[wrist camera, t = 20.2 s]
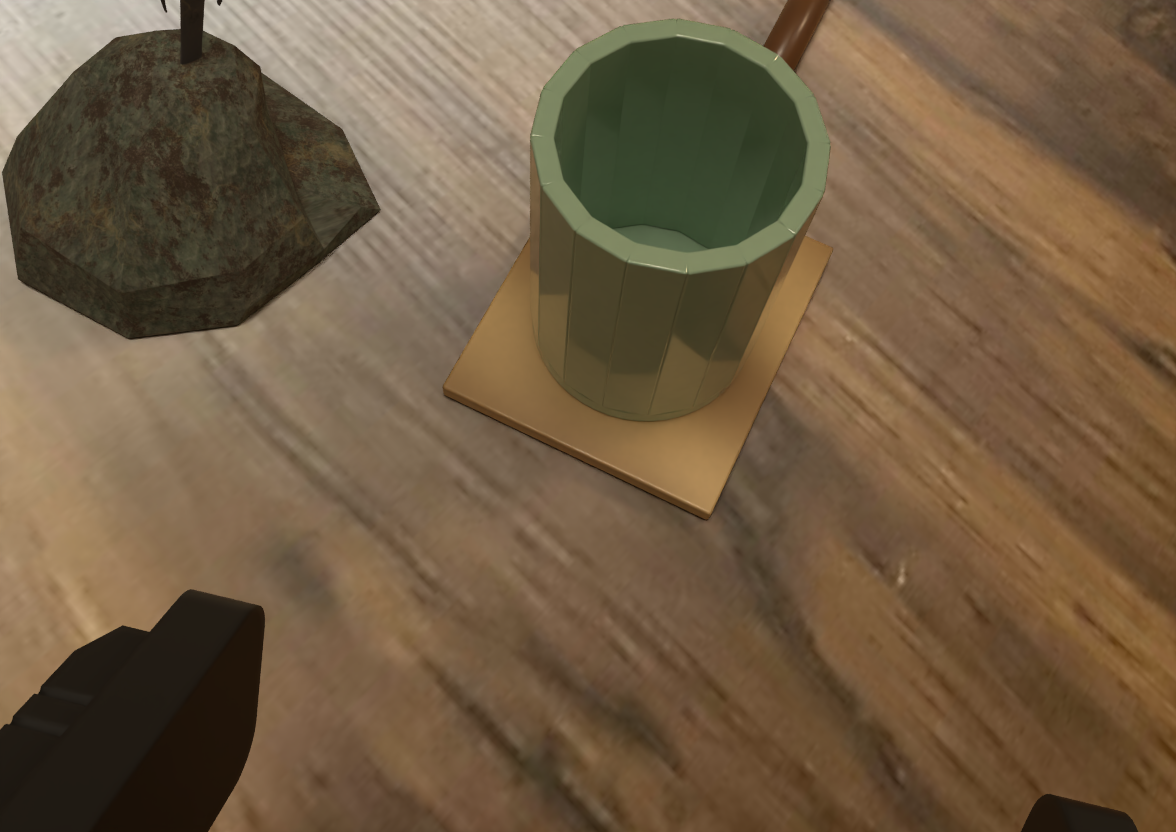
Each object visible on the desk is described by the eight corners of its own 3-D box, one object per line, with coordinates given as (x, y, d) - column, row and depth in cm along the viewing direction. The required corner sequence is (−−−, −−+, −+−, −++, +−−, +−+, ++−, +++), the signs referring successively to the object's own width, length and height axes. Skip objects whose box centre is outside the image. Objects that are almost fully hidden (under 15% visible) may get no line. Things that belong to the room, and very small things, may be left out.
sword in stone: (72, 401, 30) (-201, 139, 19) (-25, 178, 32) (-321, -174, 21) (409, 248, 32) (345, -70, 21) (295, 49, 34) (183, -333, 23)
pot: (796, 348, 31) (889, 179, 23) (614, 464, 29) (645, 325, 21) (667, 187, 33) (713, -24, 25) (489, 288, 31) (475, 100, 23)
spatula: (707, 521, 30) (714, 508, 28) (442, 395, 30) (439, 378, 29) (970, -49, 37) (984, -76, 36) (752, -136, 38) (758, -166, 37)
